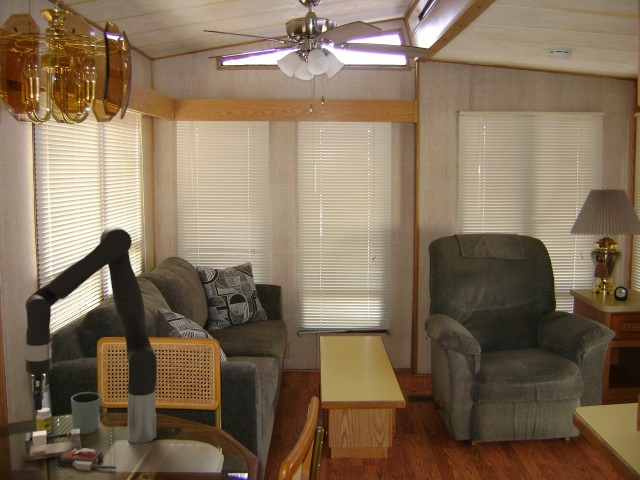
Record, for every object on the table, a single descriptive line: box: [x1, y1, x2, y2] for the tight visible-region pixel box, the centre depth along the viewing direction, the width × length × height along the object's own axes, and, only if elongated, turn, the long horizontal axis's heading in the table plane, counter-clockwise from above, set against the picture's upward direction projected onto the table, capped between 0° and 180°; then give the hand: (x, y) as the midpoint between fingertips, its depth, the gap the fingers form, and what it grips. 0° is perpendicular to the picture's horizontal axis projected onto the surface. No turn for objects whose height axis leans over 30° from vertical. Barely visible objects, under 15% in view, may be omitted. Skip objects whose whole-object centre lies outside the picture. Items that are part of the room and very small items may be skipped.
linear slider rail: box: [23, 428, 82, 462], centre depth 207 cm, size 17×7×7 cm, turn 111°
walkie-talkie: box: [56, 447, 117, 471], centre depth 201 cm, size 9×4×20 cm
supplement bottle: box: [35, 407, 52, 435], centre depth 221 cm, size 5×5×8 cm
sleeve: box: [32, 430, 48, 446], centre depth 205 cm, size 4×3×3 cm
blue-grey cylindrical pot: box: [70, 391, 102, 435], centre depth 225 cm, size 10×10×12 cm
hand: (39, 404), depth 203 cm, fingers open, 8 cm apart
